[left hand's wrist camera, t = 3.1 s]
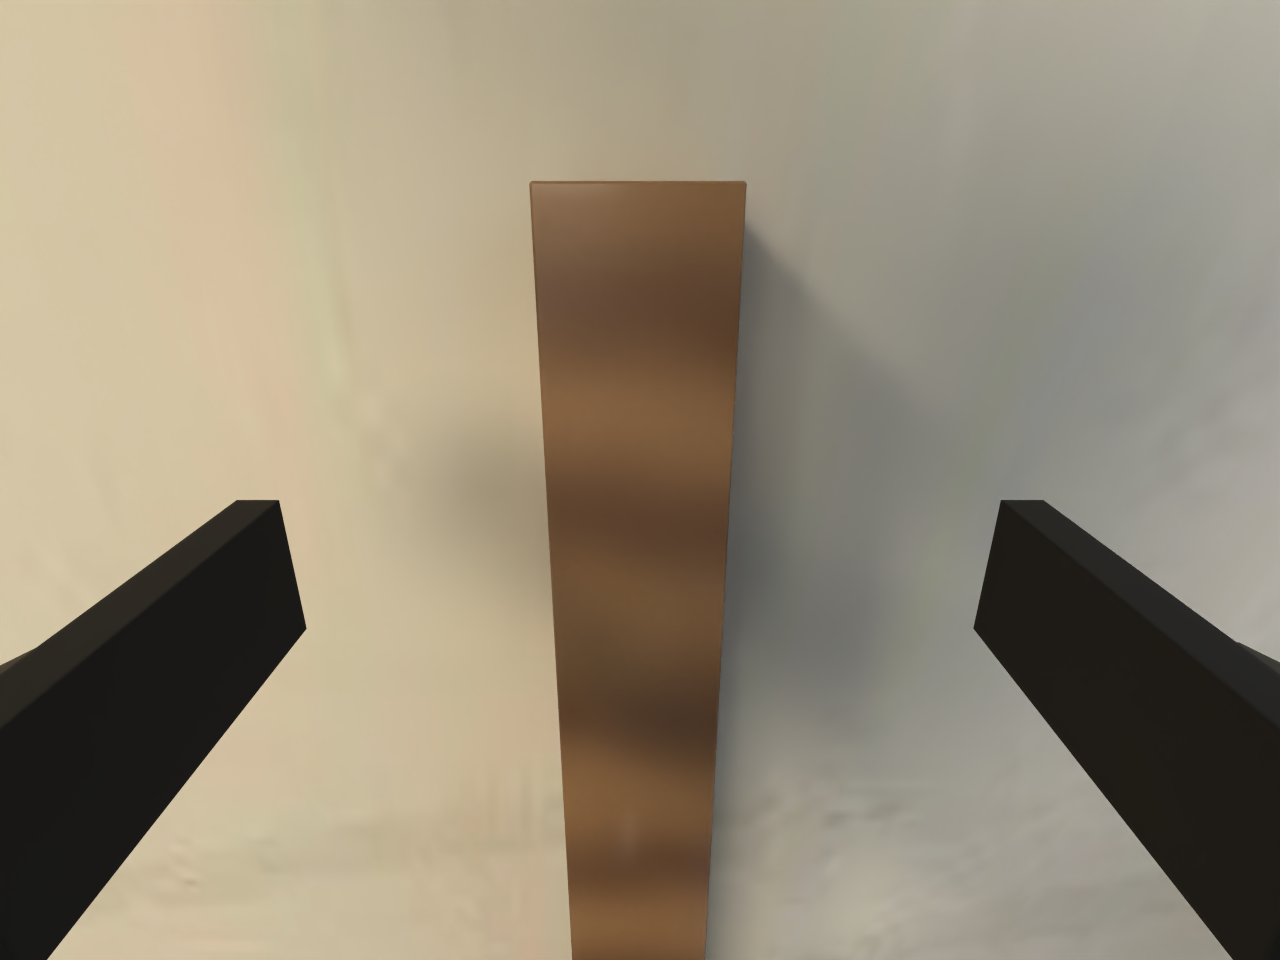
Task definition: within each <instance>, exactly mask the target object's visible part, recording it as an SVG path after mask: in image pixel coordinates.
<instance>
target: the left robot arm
mask: <svg viewBox="0 0 1280 960" xmlns="http://www.w3.org/2000/svg"><path fill="white" fill-rule="evenodd" d="M306 629H307V628H306V624H305V619H304V614H303V610H302V605H301V601H300V596H299V591H298V587H297V582H296V577H295V573H294V568H293V563H292V559H291V554H290V549H289V545H288V540H287V535H286V531H285V526H284V522H283V517H282V512H281V508H280V503H279V500H236V501H235V502H234V503H232V504H231V505H230V506H228V507H227V508H225V509H224V510H223V511H221V512H220V513H219V514H217V515H216V516H215V517H213V518H212V519H211V520H209V521H208V522H206V523H205V524H204V525H202V526H201V527H200V528H198V529H197V530H196V531H194V532H193V533H192V534H190V535H189V536H187V537H186V538H185V539H183V540H182V541H181V542H179V543H178V544H177V545H175V546H174V547H173V548H171V549H170V550H168V551H167V552H166V553H164V554H163V555H162V556H160V557H159V558H158V559H156V560H155V561H154V562H152V563H151V564H149V565H148V566H147V567H145V568H144V569H143V570H141V571H140V572H139V573H137V574H136V575H134V576H133V577H132V578H130V579H129V580H128V581H126V582H125V583H124V584H122V585H121V586H120V587H118V588H117V589H115V590H114V591H113V592H111V593H110V594H109V595H107V596H106V597H105V598H103V599H102V600H101V601H99V602H98V603H96V604H95V605H94V606H92V607H91V608H90V609H88V610H87V611H86V612H84V613H83V614H82V615H80V616H79V617H77V618H76V619H75V620H73V621H72V622H71V623H69V624H68V625H67V626H65V627H64V628H63V629H61V630H60V631H58V632H57V633H56V634H54V635H53V636H52V637H50V638H49V639H48V640H46V641H45V642H43V643H42V644H41V645H39V646H38V647H37V648H35V649H33V650H31V651H29V652H27V653H25V654H23V655H21V656H19V657H17V658H15V659H13V660H11V661H9V662H6V663H4V664H2V665H0V960H47V959H48V958H49V956H50V955H51V954H52V953H53V951H54V950H55V949H56V947H57V946H58V945H59V944H60V942H61V941H62V940H63V939H64V937H65V936H66V935H67V933H68V932H69V931H70V930H71V928H72V927H73V926H74V924H75V923H76V922H77V921H78V919H79V918H80V917H81V916H82V914H83V913H84V912H85V910H86V909H87V908H88V907H89V905H90V904H91V903H92V902H93V900H94V899H95V898H96V896H97V895H98V894H99V893H100V891H101V890H102V889H103V887H104V886H105V885H106V884H107V882H108V881H109V880H110V879H111V877H112V876H113V875H114V873H115V872H116V871H117V870H118V868H119V867H120V866H121V865H122V863H123V862H124V861H125V859H126V858H127V857H128V856H129V854H130V853H131V852H132V851H133V849H134V848H135V847H136V845H137V844H138V843H139V842H140V840H141V839H142V838H143V836H144V835H145V834H146V833H147V831H148V830H149V829H150V828H151V826H152V825H153V824H154V822H155V821H156V820H157V819H158V817H159V816H160V815H161V814H162V812H163V811H164V810H165V808H166V807H167V806H168V805H169V803H170V802H171V801H172V799H173V798H174V797H175V796H176V794H177V793H178V792H179V791H180V789H181V788H182V787H183V785H184V784H185V783H186V782H187V780H188V779H189V778H190V777H191V775H192V774H193V773H194V771H195V770H196V769H197V768H198V766H199V765H200V764H201V763H202V761H203V760H204V759H205V757H206V756H207V755H208V754H209V752H210V751H211V750H212V748H213V747H214V746H215V745H216V743H217V742H218V741H219V740H220V738H221V737H222V736H223V734H224V733H225V732H226V731H227V729H228V728H229V727H230V726H231V724H232V723H233V722H234V720H235V719H236V718H237V717H238V715H239V714H240V713H241V711H242V710H243V709H244V708H245V706H246V705H247V704H248V703H249V701H250V700H251V699H252V697H253V696H254V695H255V694H256V692H257V691H258V690H259V689H260V687H261V686H262V685H263V683H264V682H265V681H266V680H267V678H268V677H269V676H270V675H271V673H272V672H273V671H274V669H275V668H276V667H277V666H278V664H279V663H280V662H281V660H282V659H283V658H284V657H285V655H286V654H287V653H288V652H289V650H290V649H291V648H292V646H293V645H294V644H295V643H296V641H297V640H298V639H299V638H300V636H301V635H302V634H303V632H304V631H305V630H306ZM973 629H974V630H975V631H976V632H977V634H978V635H979V636H980V638H981V639H982V640H983V641H984V643H985V644H986V645H987V646H988V648H989V649H990V650H991V652H992V653H993V654H994V655H995V657H996V658H997V659H998V660H999V662H1000V663H1001V664H1002V666H1003V667H1004V668H1005V669H1006V671H1007V672H1008V673H1009V675H1010V676H1011V677H1012V678H1013V680H1014V681H1015V682H1016V683H1017V685H1018V686H1019V687H1020V689H1021V690H1022V691H1023V692H1024V694H1025V695H1026V696H1027V697H1028V699H1029V700H1030V701H1031V703H1032V704H1033V705H1034V706H1035V708H1036V709H1037V710H1038V711H1039V713H1040V714H1041V715H1042V717H1043V718H1044V719H1045V720H1046V722H1047V723H1048V724H1049V726H1050V727H1051V728H1052V729H1053V731H1054V732H1055V733H1056V734H1057V736H1058V737H1059V738H1060V740H1061V741H1062V742H1063V743H1064V745H1065V746H1066V747H1067V748H1068V750H1069V751H1070V752H1071V754H1072V755H1073V756H1074V757H1075V759H1076V760H1077V761H1078V763H1079V764H1080V765H1081V766H1082V768H1083V769H1084V770H1085V771H1086V773H1087V774H1088V775H1089V777H1090V778H1091V779H1092V780H1093V782H1094V783H1095V784H1096V785H1097V787H1098V788H1099V789H1100V791H1101V792H1102V793H1103V794H1104V796H1105V797H1106V798H1107V799H1108V801H1109V802H1110V803H1111V805H1112V806H1113V807H1114V808H1115V810H1116V811H1117V812H1118V814H1119V815H1120V816H1121V817H1122V819H1123V820H1124V821H1125V822H1126V824H1127V825H1128V826H1129V828H1130V829H1131V830H1132V831H1133V833H1134V834H1135V835H1136V836H1137V838H1138V839H1139V840H1140V842H1141V843H1142V844H1143V845H1144V847H1145V848H1146V849H1147V851H1148V852H1149V853H1150V854H1151V856H1152V857H1153V858H1154V859H1155V861H1156V862H1157V863H1158V865H1159V866H1160V867H1161V868H1162V870H1163V871H1164V872H1165V873H1166V875H1167V876H1168V877H1169V879H1170V880H1171V881H1172V882H1173V884H1174V885H1175V886H1176V887H1177V889H1178V890H1179V891H1180V893H1181V894H1182V895H1183V896H1184V898H1185V899H1186V900H1187V902H1188V903H1189V904H1190V905H1191V907H1192V908H1193V909H1194V910H1195V912H1196V913H1197V914H1198V916H1199V917H1200V918H1201V919H1202V921H1203V922H1204V923H1205V924H1206V926H1207V927H1208V928H1209V930H1210V931H1211V932H1212V933H1213V935H1214V936H1215V937H1216V939H1217V940H1218V941H1219V942H1220V944H1221V945H1222V946H1223V947H1224V949H1225V950H1226V951H1227V953H1228V954H1229V955H1230V956H1231V958H1232V959H1233V960H1280V662H1278V661H1276V660H1274V659H1272V658H1270V657H1268V656H1265V655H1263V654H1261V653H1259V652H1257V651H1255V650H1253V649H1251V648H1249V647H1247V646H1245V645H1243V644H1241V643H1237V642H1235V641H1234V640H1232V639H1231V638H1230V637H1228V636H1227V635H1226V634H1224V633H1223V632H1222V631H1220V630H1219V629H1217V628H1216V627H1215V626H1213V625H1212V624H1211V623H1209V622H1208V621H1207V620H1205V619H1204V618H1203V617H1201V616H1200V615H1198V614H1197V613H1196V612H1194V611H1193V610H1192V609H1190V608H1189V607H1188V606H1186V605H1185V604H1184V603H1182V602H1181V601H1179V600H1178V599H1177V598H1175V597H1174V596H1173V595H1171V594H1170V593H1169V592H1167V591H1166V590H1165V589H1163V588H1162V587H1160V586H1159V585H1158V584H1156V583H1155V582H1154V581H1152V580H1151V579H1150V578H1148V577H1147V576H1146V575H1144V574H1143V573H1141V572H1140V571H1139V570H1137V569H1136V568H1135V567H1133V566H1132V565H1131V564H1129V563H1128V562H1126V561H1125V560H1124V559H1122V558H1121V557H1120V556H1118V555H1117V554H1116V553H1114V552H1113V551H1112V550H1110V549H1109V548H1107V547H1106V546H1105V545H1103V544H1102V543H1101V542H1099V541H1098V540H1097V539H1095V538H1094V537H1093V536H1091V535H1090V534H1088V533H1087V532H1086V531H1084V530H1083V529H1082V528H1080V527H1079V526H1078V525H1076V524H1075V523H1074V522H1072V521H1071V520H1069V519H1068V518H1067V517H1065V516H1064V515H1063V514H1061V513H1060V512H1059V511H1057V510H1056V509H1055V508H1053V507H1052V506H1050V505H1049V504H1048V503H1046V502H1045V501H1044V500H1001V503H1000V508H999V512H998V517H997V522H996V526H995V531H994V535H993V540H992V545H991V549H990V554H989V559H988V563H987V568H986V573H985V577H984V582H983V587H982V591H981V596H980V600H979V605H978V610H977V614H976V619H975V624H974V628H973Z"/></svg>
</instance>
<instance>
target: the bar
mask: <svg viewBox="0 0 1280 960" xmlns="http://www.w3.org/2000/svg"><path fill="white" fill-rule="evenodd" d="M529 185H530V203H531V221H532V239H533V257H534V275H535V293H536V311H537V330H538V348H539V366H540V384H541V402H542V420H543V438H544V456H545V474H546V492H547V510H548V528H549V547H550V565H551V583H552V601H553V619H554V637H555V655H556V673H557V691H558V709H559V727H560V745H561V764H562V782H563V800H564V818H565V836H566V854H567V872H568V890H569V908H570V926H571V944H572V960H705V948H706V930H707V911H708V892H709V874H710V855H711V837H712V818H713V799H714V781H715V762H716V744H717V725H718V706H719V688H720V669H721V650H722V632H723V613H724V595H725V576H726V557H727V539H728V520H729V501H730V483H731V464H732V446H733V427H734V408H735V390H736V371H737V352H738V334H739V315H740V297H741V278H742V259H743V241H744V222H745V203H746V185H747V184H746V182H744V181H531V182H530V184H529Z"/></svg>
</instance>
